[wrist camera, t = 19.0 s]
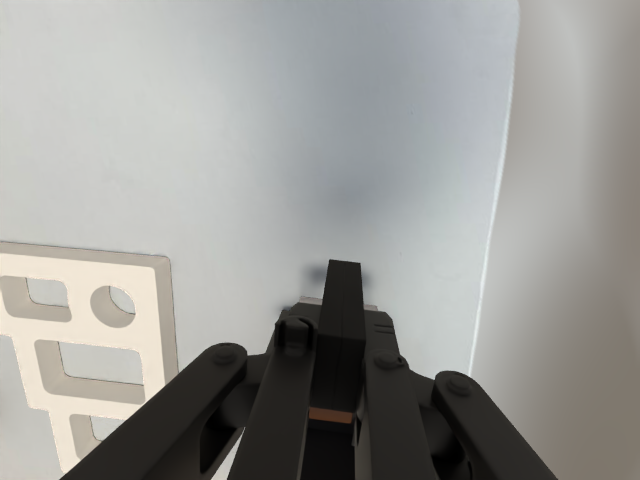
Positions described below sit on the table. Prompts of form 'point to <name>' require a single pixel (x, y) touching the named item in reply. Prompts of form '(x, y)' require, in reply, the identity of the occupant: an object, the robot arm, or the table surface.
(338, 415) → the block
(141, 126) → the table surface
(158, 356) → the holder
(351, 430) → the drawer
